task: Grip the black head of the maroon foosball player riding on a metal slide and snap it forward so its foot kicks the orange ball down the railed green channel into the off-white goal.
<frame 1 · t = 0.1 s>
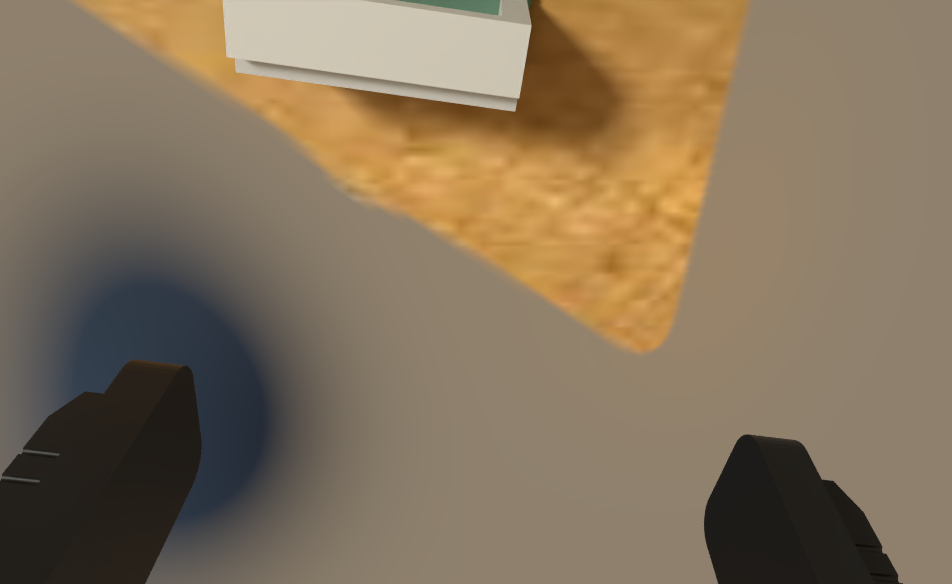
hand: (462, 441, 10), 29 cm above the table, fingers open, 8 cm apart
goal: (399, 6, 34), resting on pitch
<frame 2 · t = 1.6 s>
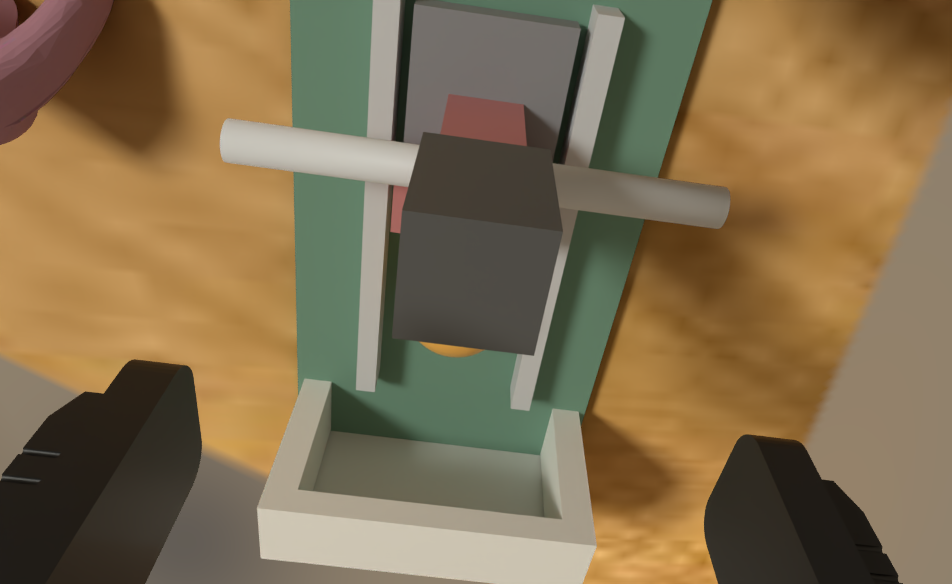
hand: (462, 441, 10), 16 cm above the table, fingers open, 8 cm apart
goal: (440, 409, 32), resting on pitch
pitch: (462, 255, 27), on the table
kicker: (478, 181, 18), point 6 cm above the table, slide at 0.0 cm
ball: (457, 303, 25), point 3 cm above the table, touching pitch
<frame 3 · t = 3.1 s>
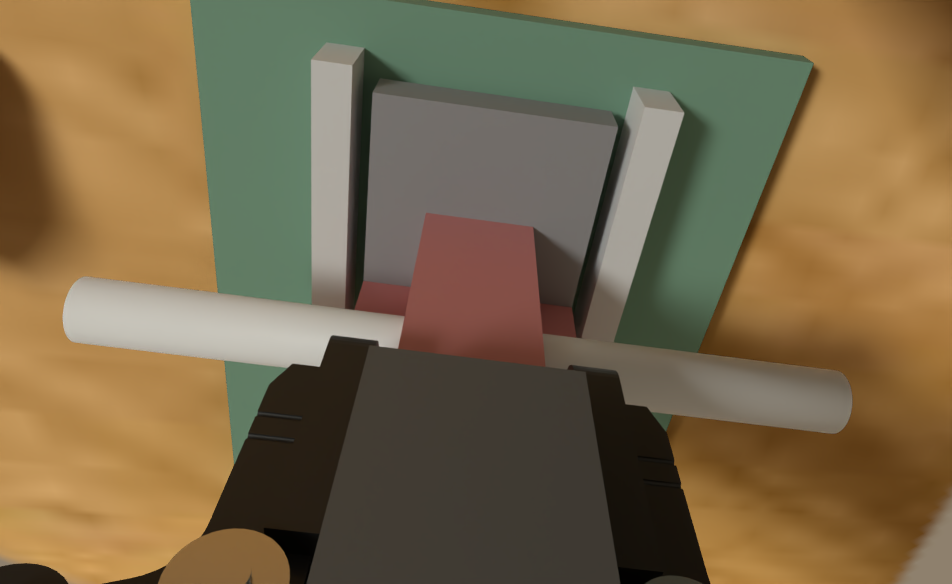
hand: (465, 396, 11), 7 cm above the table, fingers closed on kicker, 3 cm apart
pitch: (450, 395, 20), on the table
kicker: (467, 380, 11), point 6 cm above the table, slide at 0.0 cm, touching gripper
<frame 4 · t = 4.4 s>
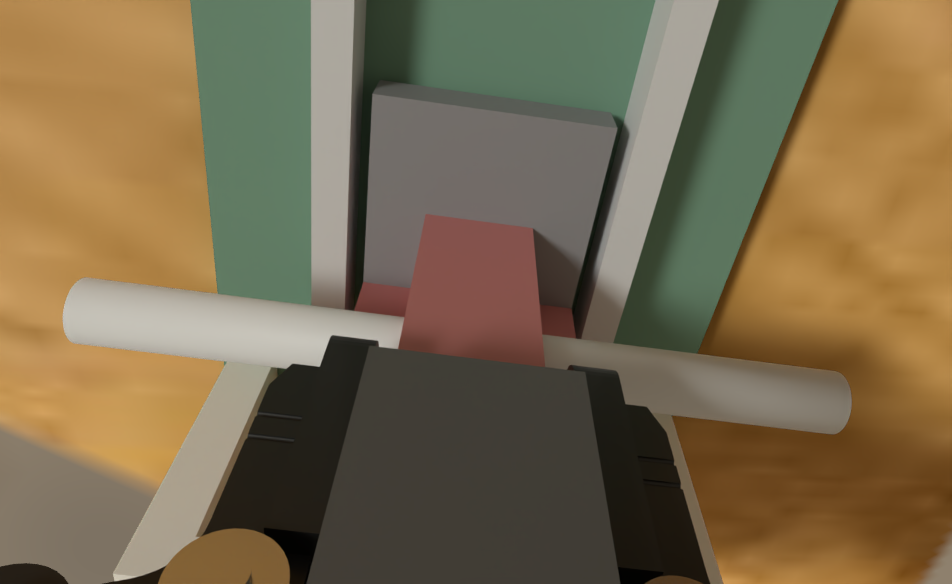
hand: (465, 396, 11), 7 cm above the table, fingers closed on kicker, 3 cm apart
goal: (449, 400, 20), resting on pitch
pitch: (489, 132, 16), on the table
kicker: (466, 381, 12), point 6 cm above the table, slide at 8.4 cm, touching gripper
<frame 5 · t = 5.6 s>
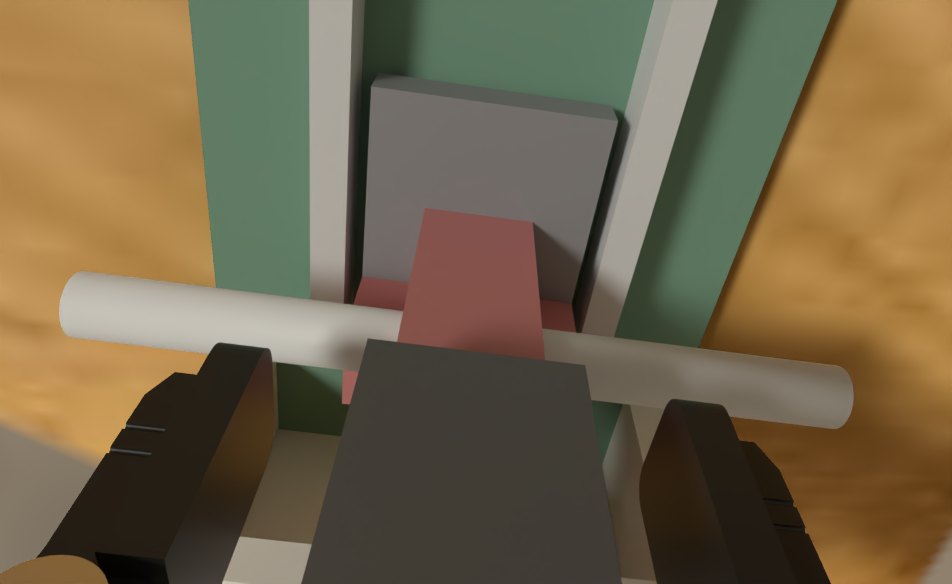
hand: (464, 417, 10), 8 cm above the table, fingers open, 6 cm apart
goal: (449, 396, 20), resting on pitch
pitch: (489, 125, 16), on the table
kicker: (466, 375, 11), point 6 cm above the table, slide at 8.4 cm
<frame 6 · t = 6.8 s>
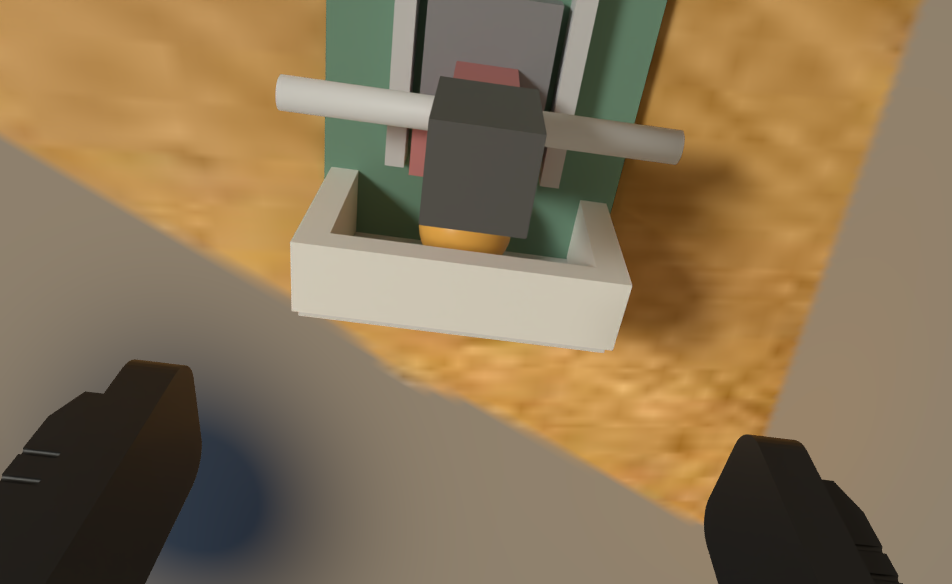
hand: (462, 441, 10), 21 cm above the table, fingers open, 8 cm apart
goal: (466, 209, 31), resting on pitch
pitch: (492, 17, 27), on the table
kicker: (482, 122, 22), point 6 cm above the table, slide at 8.4 cm
ball: (465, 226, 29), point 3 cm above the table, tilted 151°, touching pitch
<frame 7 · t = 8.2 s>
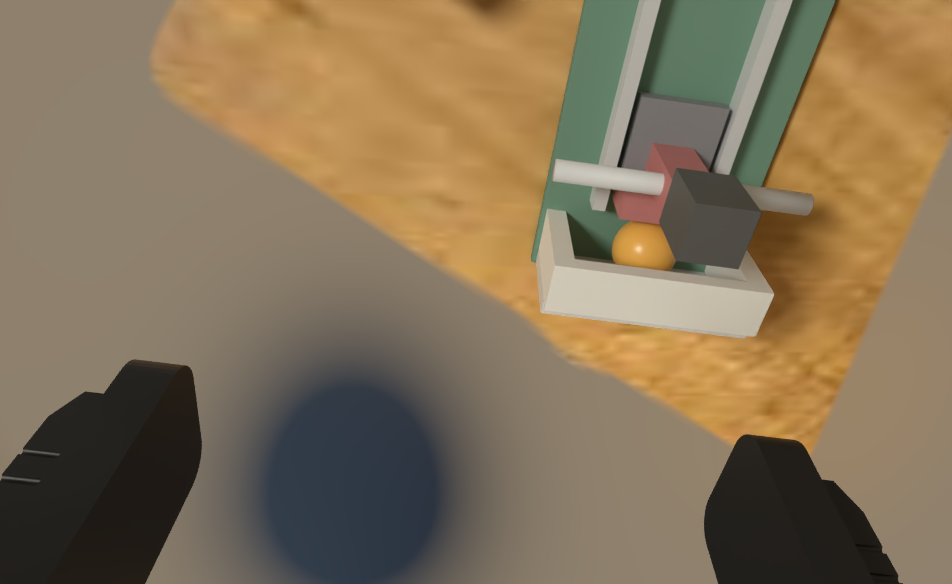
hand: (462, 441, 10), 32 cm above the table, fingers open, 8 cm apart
goal: (635, 237, 44), resting on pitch
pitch: (673, 111, 40), on the table
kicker: (687, 190, 35), point 6 cm above the table, slide at 8.4 cm
ball: (644, 249, 42), point 3 cm above the table, tilted 154°, touching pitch
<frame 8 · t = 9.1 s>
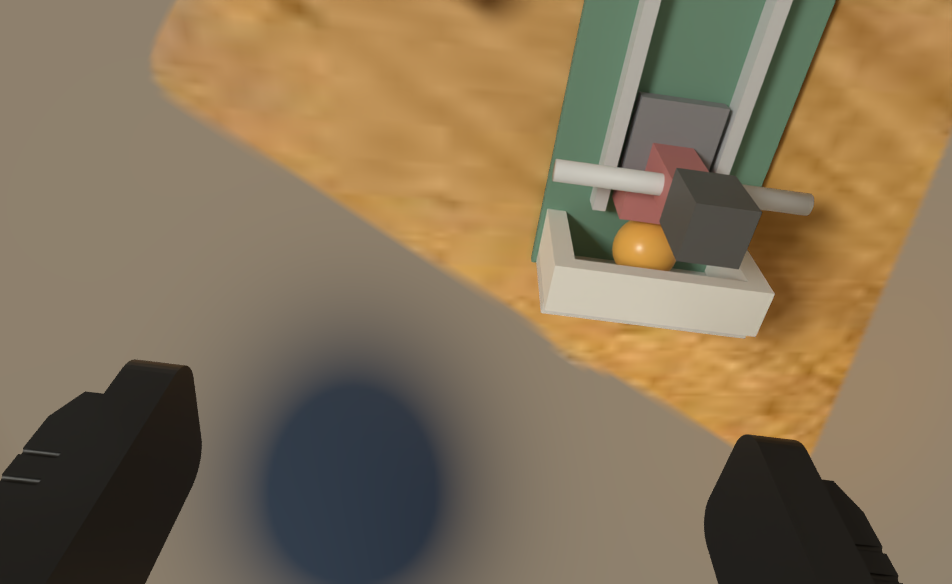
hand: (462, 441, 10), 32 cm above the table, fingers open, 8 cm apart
goal: (635, 237, 44), resting on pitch
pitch: (673, 111, 40), on the table
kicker: (687, 190, 35), point 6 cm above the table, slide at 8.4 cm
ball: (645, 248, 42), point 3 cm above the table, tilted 156°, touching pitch
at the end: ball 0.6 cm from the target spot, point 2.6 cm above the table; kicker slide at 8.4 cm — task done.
